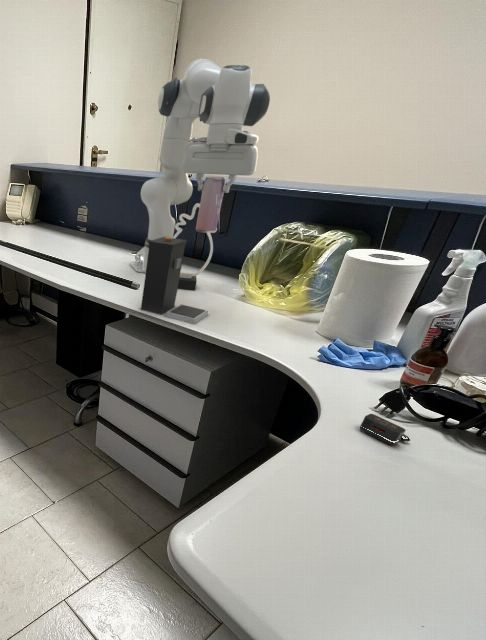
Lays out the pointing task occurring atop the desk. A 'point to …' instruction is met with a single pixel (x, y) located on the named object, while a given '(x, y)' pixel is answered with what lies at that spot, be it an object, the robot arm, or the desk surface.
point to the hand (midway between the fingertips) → (213, 191)
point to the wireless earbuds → (383, 429)
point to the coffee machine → (166, 280)
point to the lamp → (190, 279)
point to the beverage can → (210, 204)
